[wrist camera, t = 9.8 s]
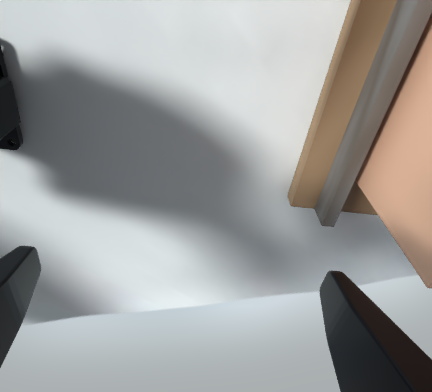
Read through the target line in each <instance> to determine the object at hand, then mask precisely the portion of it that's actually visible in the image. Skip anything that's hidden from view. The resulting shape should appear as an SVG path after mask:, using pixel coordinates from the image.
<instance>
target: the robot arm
mask: <svg viewBox="0 0 432 392" xmlns="http://www.w3.org/2000/svg"><path fill="white" fill-rule="evenodd" d="M20 122H21V121H20V117H19V112H18V108H17V104H16V99H15V95H14V91H13V86H12V82H11V81H10V80H9V78H8V75H7V71H6V67H5V63H4V58H3V54H2V50H1V46H0V149H9V150H17V149H19V148H20V147H21V146H22V144H23V139H22V135H21V131H20V126H19V124H20ZM10 139H12V140H14V141H15V143H16V144H15V143H13V142H11V140H10ZM40 271H41V264H40V260H39V257H38V253H37V250H36V248H35V247H31V246H19V247H17V248H16V249H14V250H13V251H11V252H10V253H8V254H7V255H5V256H4V257H2V258H1V259H0V368H1V365H2V363H3V361H4V359H5V357H6V355H7V353H8V351H9V349H10V347H11V345H12V343H13V341H14V339H15V337H16V334H17V332H18V331H19V328H20V326H21V324H22V322H23V319H24V317H25V314H26V311H27V309H28V306H29V303H30V300H31V297H32V295H33V292H34V289H35V286H36V283H37V280H38V278H39V275H40ZM320 298H321V305H322V311H323V318H324V324H325V331H326V336H327V341H328V346H329V350H330V353H331V357H332V361H333V365H334V368H335V372H336V376H337V380H338V383H339V387H340V391H341V392H432V359H431V358H429V357H428V356H427V355H426V354H425V353H424V352H423V351H422V350H421V349H420V348H419V347H418V346H417V345H416V344H415V343H414V342H413V341H412V340H411V339H410V338H409V337H408V336H407V335H406V334H405V333H404V332H403V331H402V330H401V329H400V328H399V327H398V326H397V325H396V324H395V323H394V322H393V321H392V320H391V319H390V318H389V317H388V316H387V315H386V314H385V313H383V311H382V310H381V309H380V308H379V307H378V306H377V305H376V304H375V303H374V302H372V300H370V298H368V297H367V296H366V295H365V294H364V293H363V292H362V291H361V290H360V289H359V288H358V287H357V286H356V285H355V284H354V283H353V282H352V281H351V280H350V279H349V278H348V277H347V276H346V275H345V274H344V273H343V272H340V271H329V272H328V273H327V275H326V277H325V279H324V281H323V283H322V285H321V287H320Z"/></svg>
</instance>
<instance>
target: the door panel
mask: <svg viewBox="0 0 432 392" xmlns="http://www.w3.org/2000/svg"><path fill="white" fill-rule="evenodd" d="M355 181H356V183H357V184H358V186H359V187H360V188H361V190H362V191H363V193H364V194H365V196H366V197H367V199H368V200H369V202H370V203H371V205H372V206H373V208H374V209H375V211H376V212H377V214H378V215H379V217H380V218H381V220H382V221H383V223H384V224H385V226H386V227H387V229H388V230H389V232H390V233H391V235H392V236H393V238H394V239H395V241H396V242H397V244H398V245H399V247H400V248H401V249H402V251H403V252H404V254H405V255H406V257H407V258H408V260H409V261H410V263H411V264H412V266H413V267H414V269H415V270H416V272H417V273H418V275H419V276H420V278H421V279H422V281H423V282H424V284H425V285H426V287H427V288H432V13H431V15H430V17H429V20H428V22H427V24H426V26H425V28H424V31H423V33H422V35H421V37H420V39H419V41H418V44H417V46H416V48H415V50H414V52H413V55H412V57H411V59H410V61H409V63H408V65H407V68H406V70H405V72H404V74H403V76H402V79H401V81H400V83H399V85H398V87H397V89H396V92H395V94H394V96H393V98H392V100H391V103H390V105H389V107H388V109H387V111H386V113H385V116H384V118H383V120H382V122H381V124H380V127H379V129H378V131H377V133H376V135H375V137H374V140H373V142H372V144H371V146H370V148H369V151H368V153H367V155H366V157H365V159H364V161H363V164H362V166H361V168H360V170H359V172H358V175H357V177H356V179H355Z"/></svg>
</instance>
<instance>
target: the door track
mask: <svg viewBox="0 0 432 392" xmlns="http://www.w3.org/2000/svg"><path fill="white" fill-rule="evenodd" d="M431 13H432V0H351V2H350V5H349V8H348V11H347V14H346V17H345V20H344V24H343V27H342V30H341V33H340V36H339V39H338V42H337V45H336V48H335V51H334V54H333V57H332V61H331V64H330V67H329V70H328V73H327V76H326V79H325V82H324V85H323V88H322V91H321V94H320V98H319V101H318V104H317V107H316V110H315V113H314V116H313V119H312V122H311V125H310V128H309V131H308V135H307V138H306V141H305V144H304V147H303V150H302V153H301V156H300V159H299V162H298V165H297V168H296V171H295V175H294V178H293V181H292V184H291V187H290V190H289V193H288V199H289V202H290V205H291V206H293V207H303V208H313V209H315V211H316V213H317V216H318V218H319V220H320V223H321V225H322V226H331V227H334V225H335V223H336V220H337V218H338V216H339V214H340V212H341V211H343V212H353V213H363V214H373V215H378V214H377V212H376V211H375V209H374V208H373V206H372V205H371V203H370V202H369V200H368V199H367V197H366V196H365V194H364V193H363V191H362V190H361V188H360V187H359V186H358V184H357V183H356V181H355V179H356V177H357V175H358V172H359V170H360V168H361V166H362V164H363V161H364V159H365V157H366V155H367V153H368V151H369V148H370V146H371V144H372V142H373V140H374V137H375V135H376V133H377V131H378V129H379V127H380V124H381V122H382V120H383V118H384V116H385V113H386V111H387V109H388V107H389V105H390V103H391V100H392V98H393V96H394V94H395V92H396V89H397V87H398V85H399V83H400V81H401V79H402V76H403V74H404V72H405V70H406V68H407V65H408V63H409V61H410V59H411V57H412V55H413V52H414V50H415V48H416V46H417V44H418V41H419V39H420V37H421V35H422V33H423V31H424V28H425V26H426V24H427V22H428V20H429V17H430V15H431Z"/></svg>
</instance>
